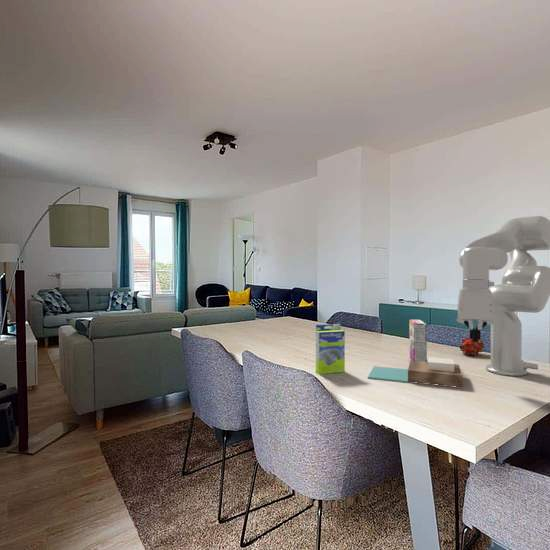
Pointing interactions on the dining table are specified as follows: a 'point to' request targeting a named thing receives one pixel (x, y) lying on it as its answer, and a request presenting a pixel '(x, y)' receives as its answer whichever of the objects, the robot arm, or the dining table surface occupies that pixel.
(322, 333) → the box
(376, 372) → the mat
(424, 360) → the candy bar box
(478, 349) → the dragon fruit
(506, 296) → the robot arm
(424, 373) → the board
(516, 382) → the dining table surface
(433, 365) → the tile
